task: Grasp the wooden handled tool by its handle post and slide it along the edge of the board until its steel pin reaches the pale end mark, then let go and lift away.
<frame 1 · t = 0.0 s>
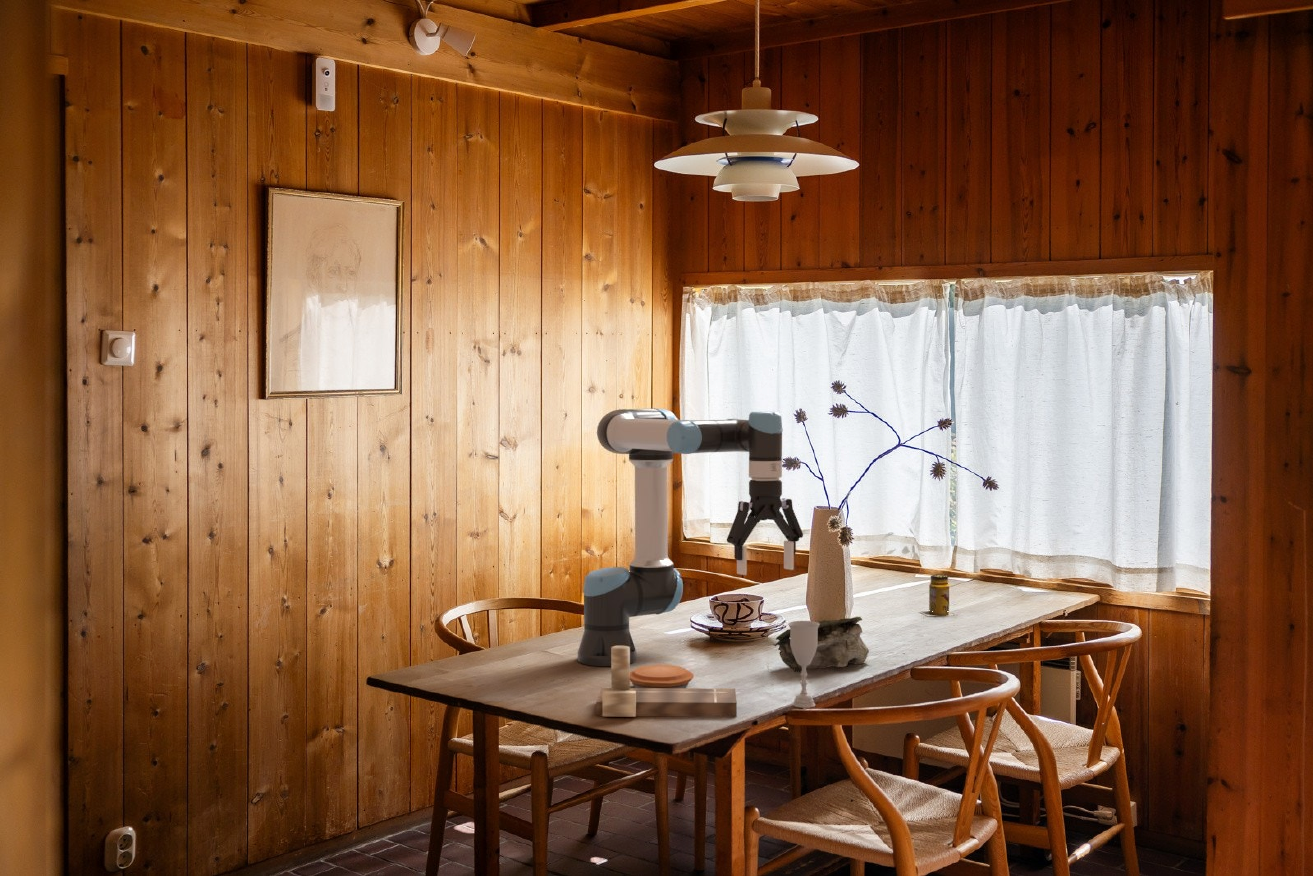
hand: (765, 571, 276), 28 cm above the table, fingers open, 13 cm apart
condiment: (936, 614, 373), on the table
pie: (660, 691, 281), on the table
chalice: (803, 705, 267), on the table
hollow geode rock: (820, 668, 303), on the table
wooden handled tool: (620, 678, 261), point 7 cm above the table, slide at -10.0 cm
board: (667, 708, 264), on the table
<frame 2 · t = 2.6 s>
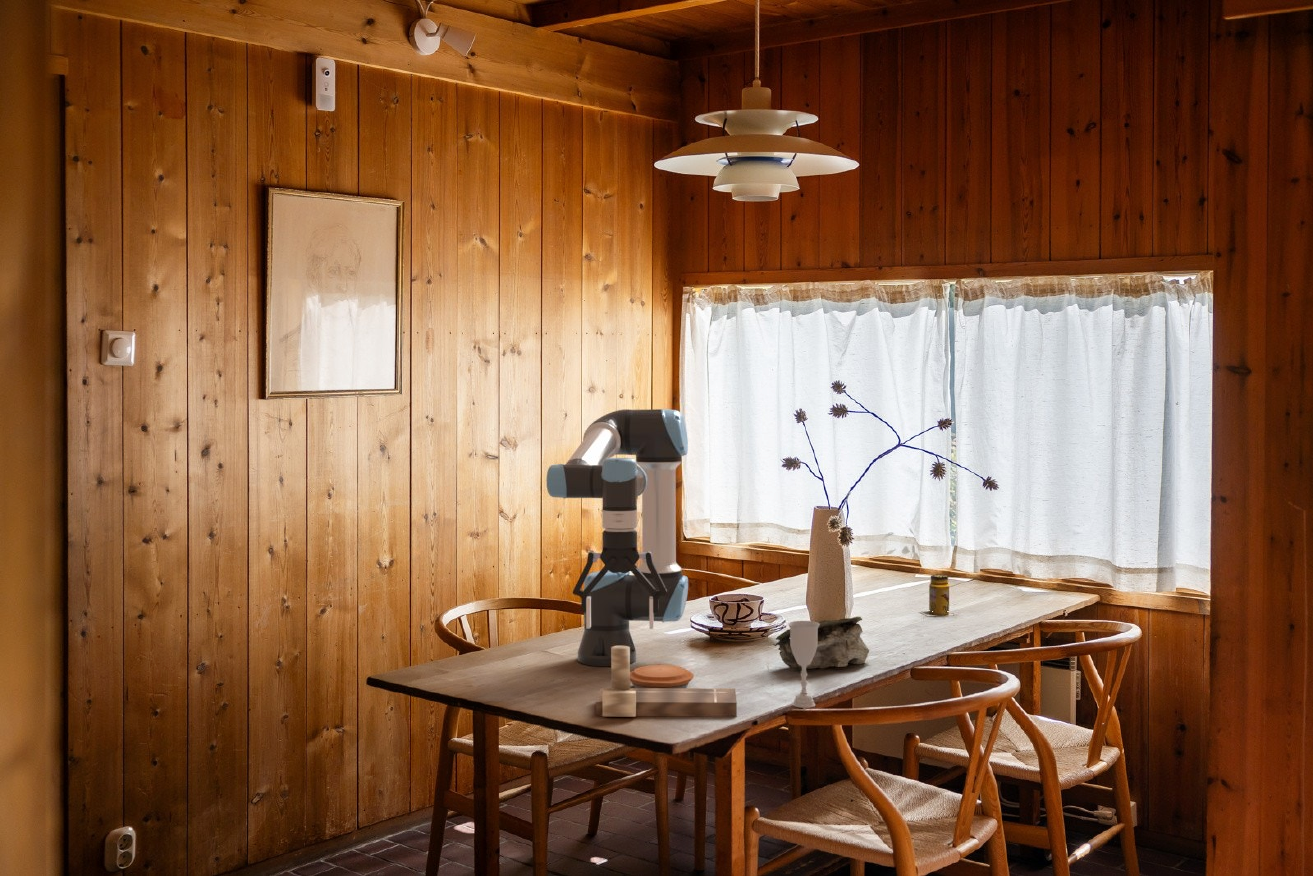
hand: (620, 627, 261), 18 cm above the table, fingers open, 13 cm apart
nothing on the table moved.
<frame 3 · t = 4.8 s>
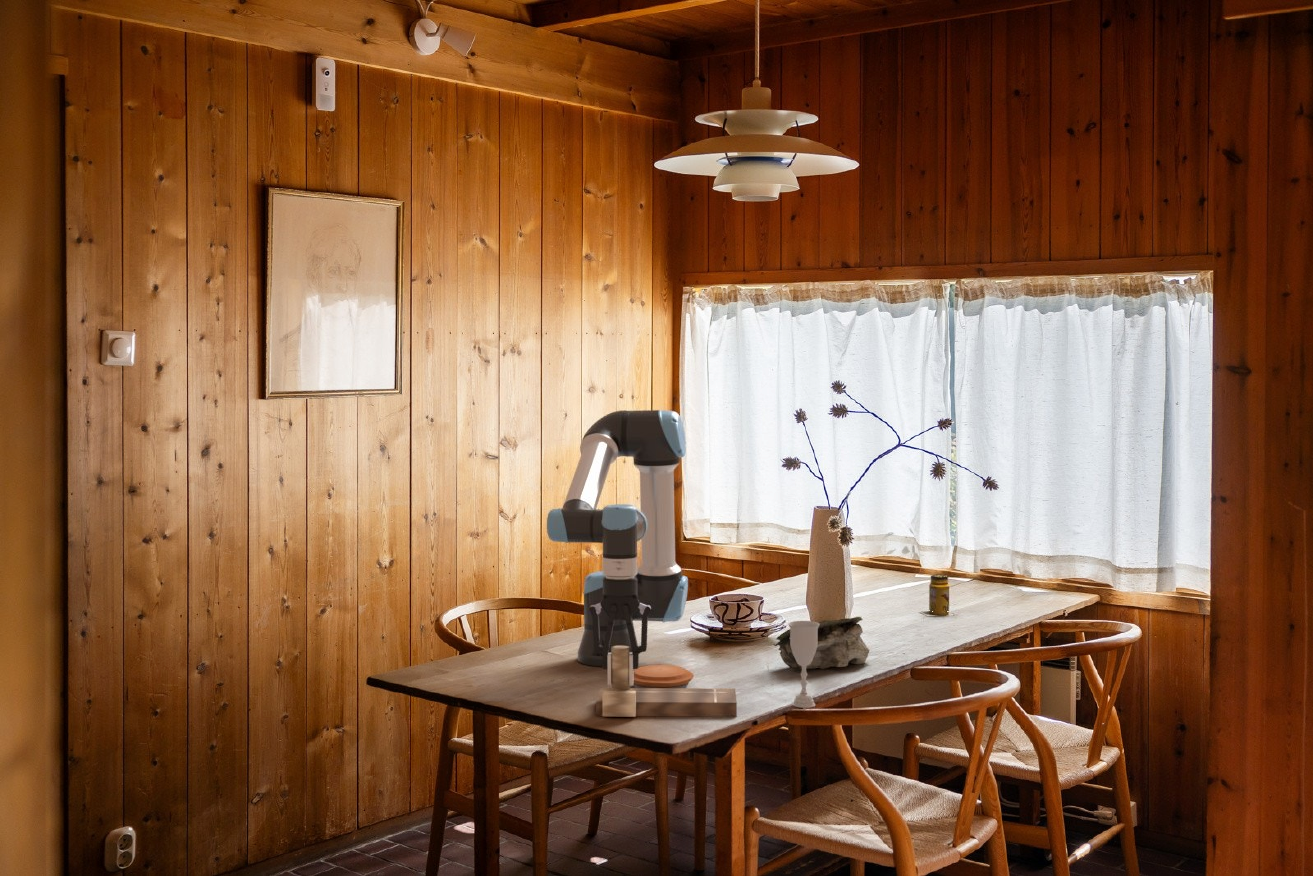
hand: (620, 683, 262), 6 cm above the table, fingers closed on wooden handled tool, 4 cm apart
wooden handled tool: (620, 678, 261), point 7 cm above the table, slide at -10.0 cm, touching gripper
everything else where it was.
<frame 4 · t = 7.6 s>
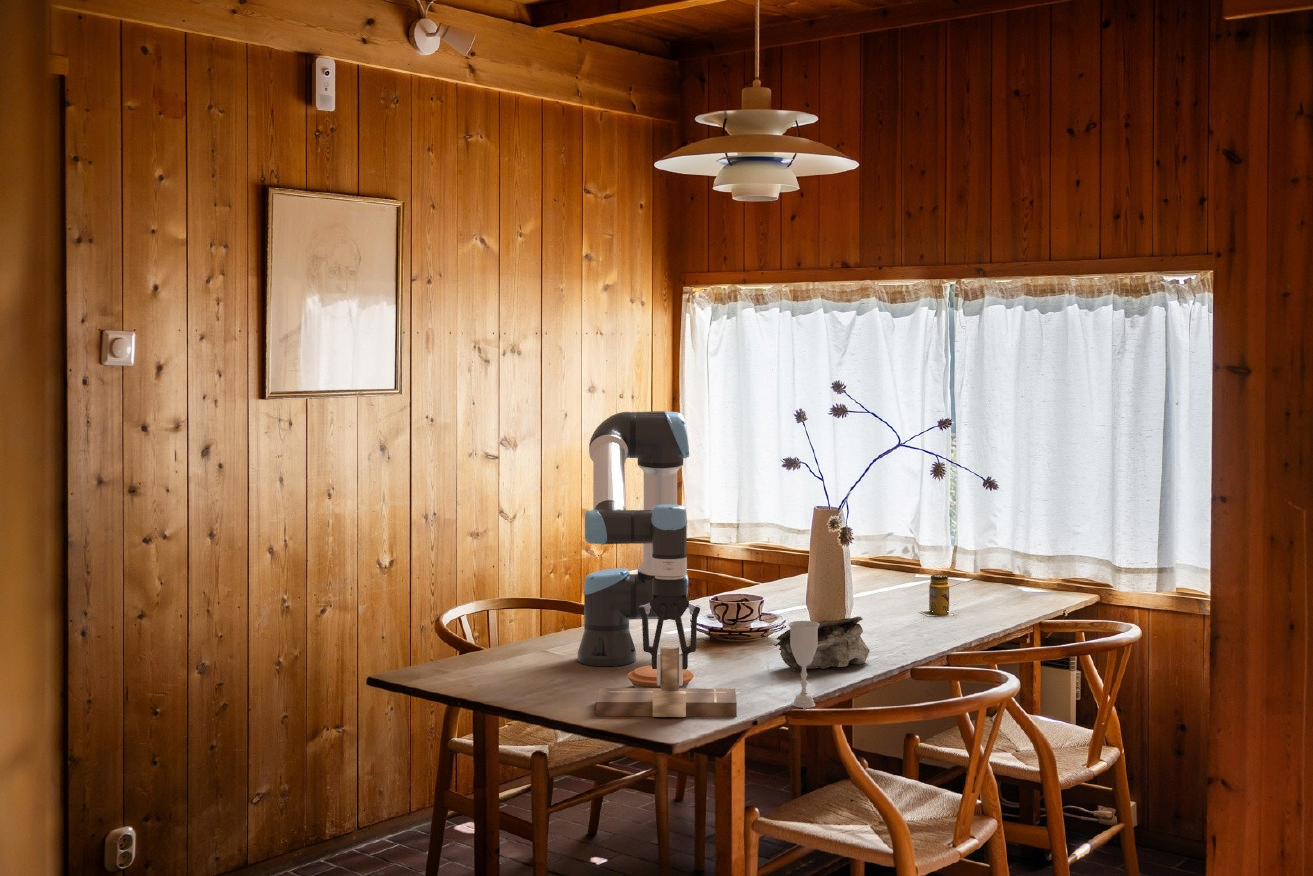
hand: (669, 683, 261), 6 cm above the table, fingers closed on wooden handled tool, 4 cm apart
wooden handled tool: (669, 678, 261), point 7 cm above the table, slide at 0.7 cm, touching gripper
everything else where it was.
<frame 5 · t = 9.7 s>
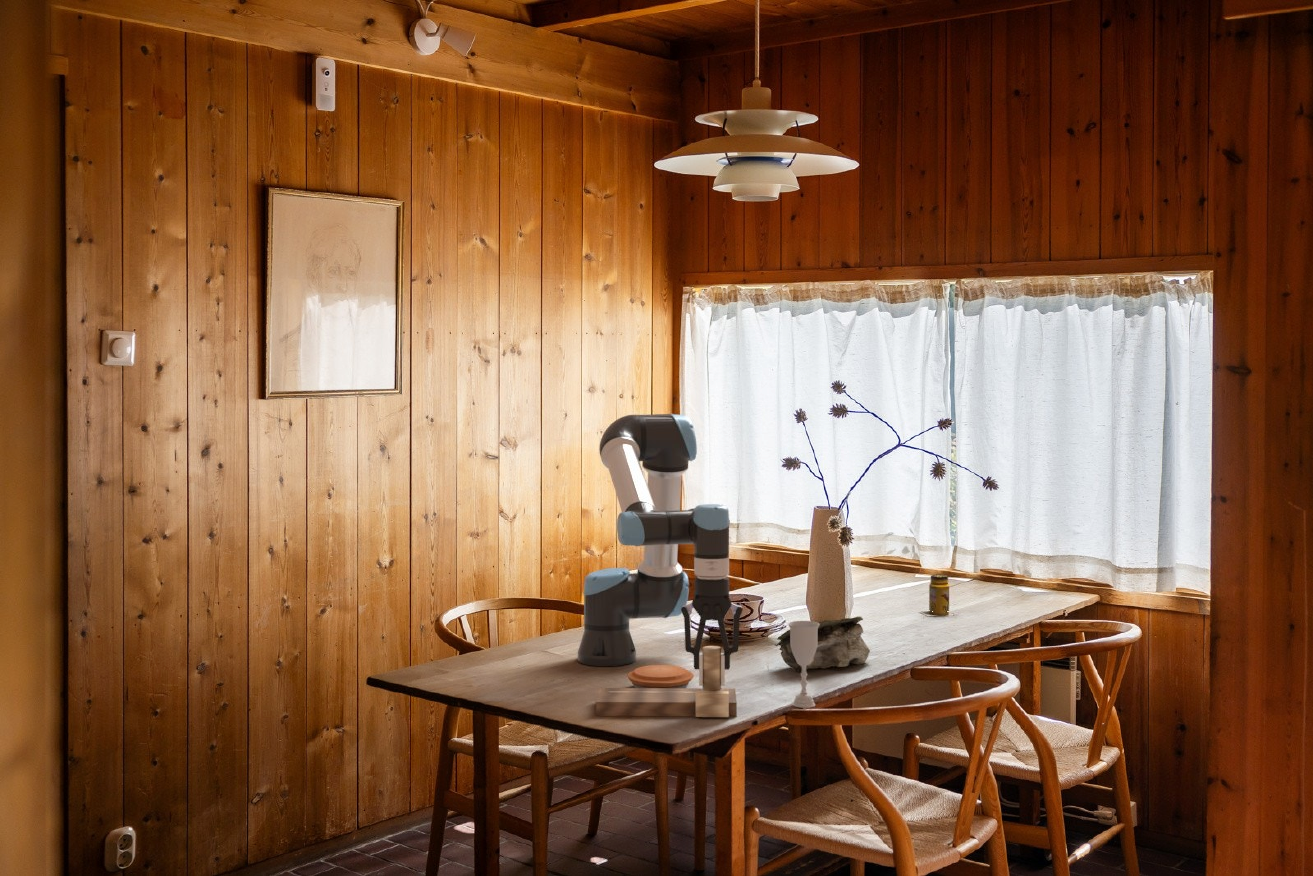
hand: (711, 684, 261), 6 cm above the table, fingers closed on wooden handled tool, 4 cm apart
wooden handled tool: (711, 679, 261), point 7 cm above the table, slide at 9.8 cm, touching gripper
everything else where it was.
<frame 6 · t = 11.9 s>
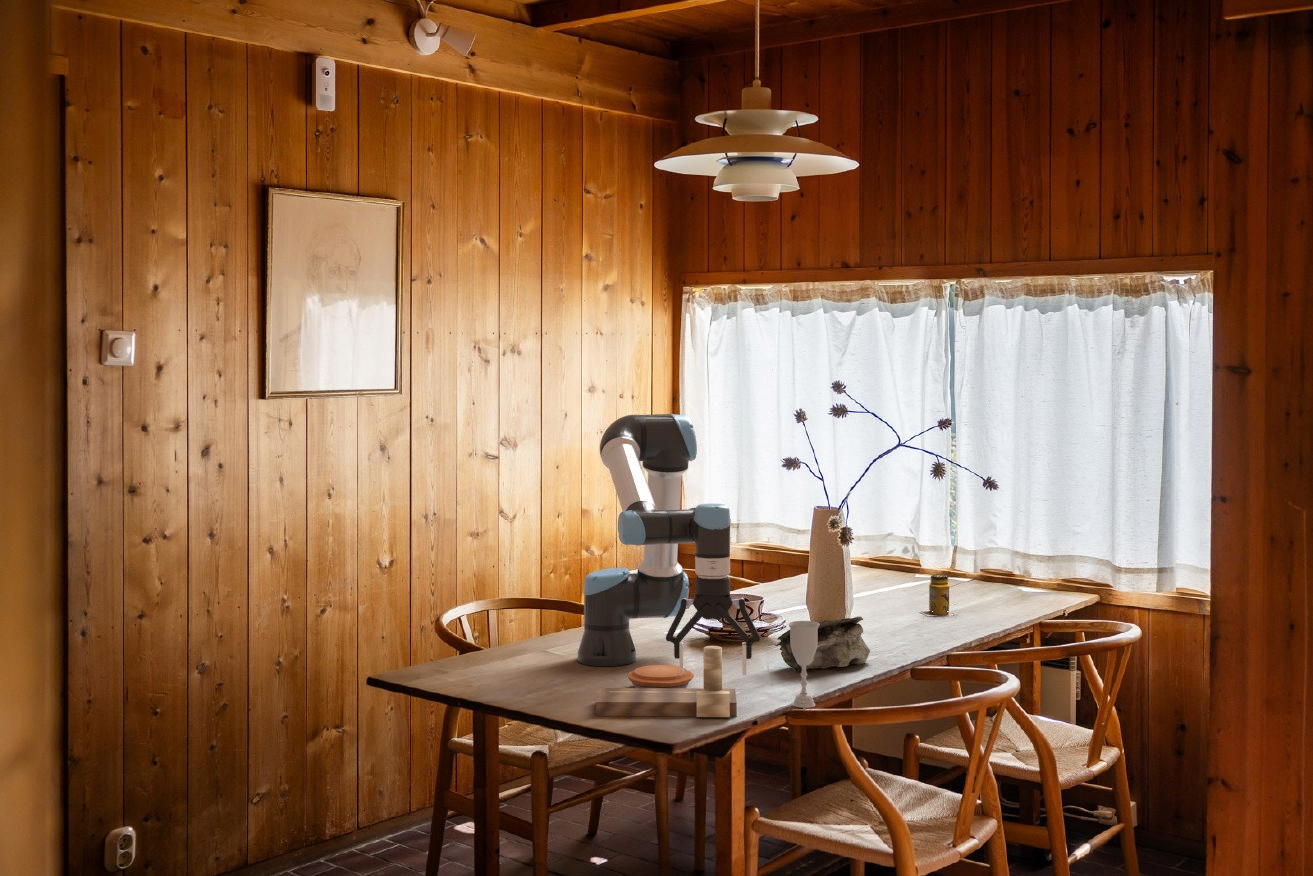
hand: (712, 673, 261), 8 cm above the table, fingers open, 13 cm apart
wooden handled tool: (712, 679, 261), point 7 cm above the table, slide at 10.0 cm
everything else where it was.
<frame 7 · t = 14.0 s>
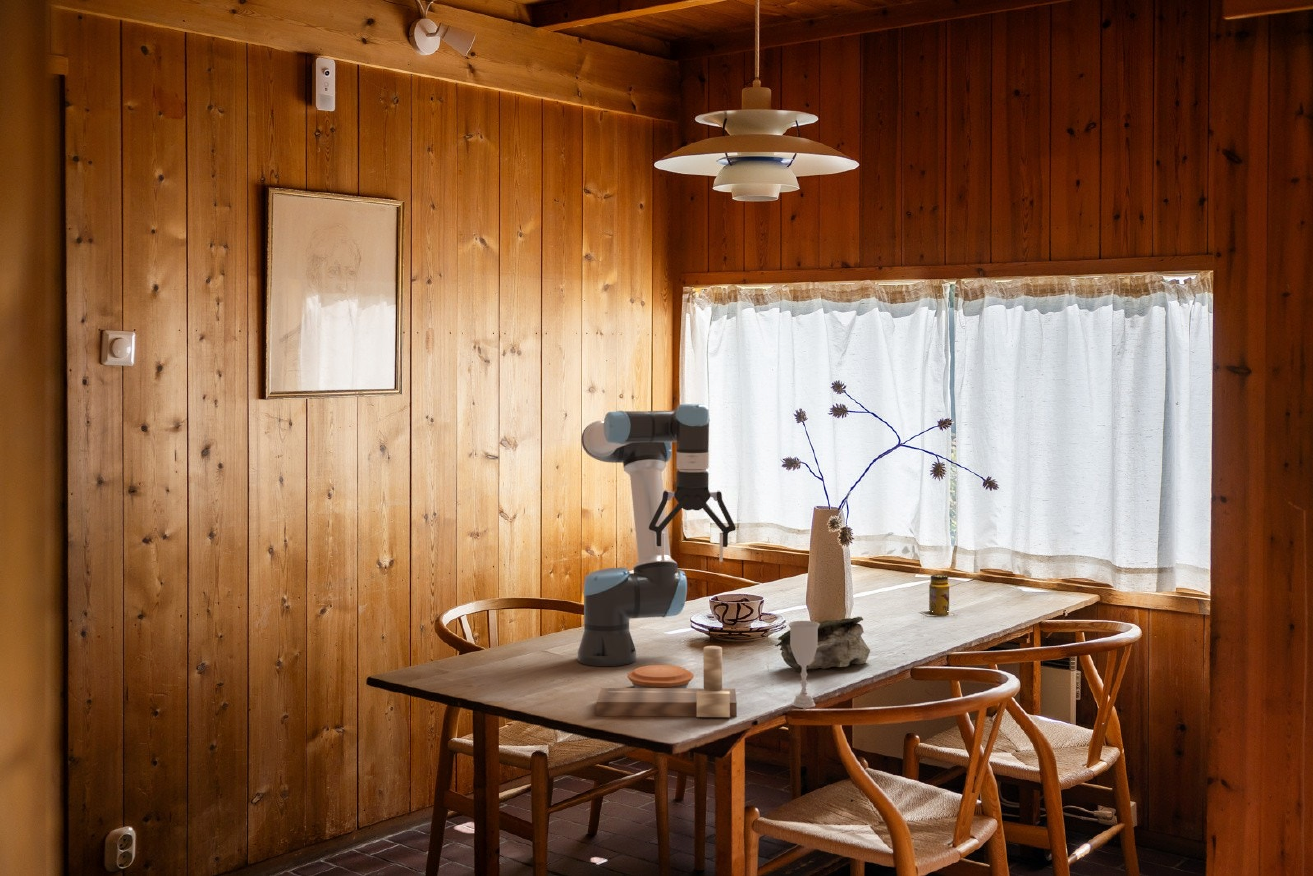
hand: (691, 560, 283), 30 cm above the table, fingers open, 13 cm apart
nothing on the table moved.
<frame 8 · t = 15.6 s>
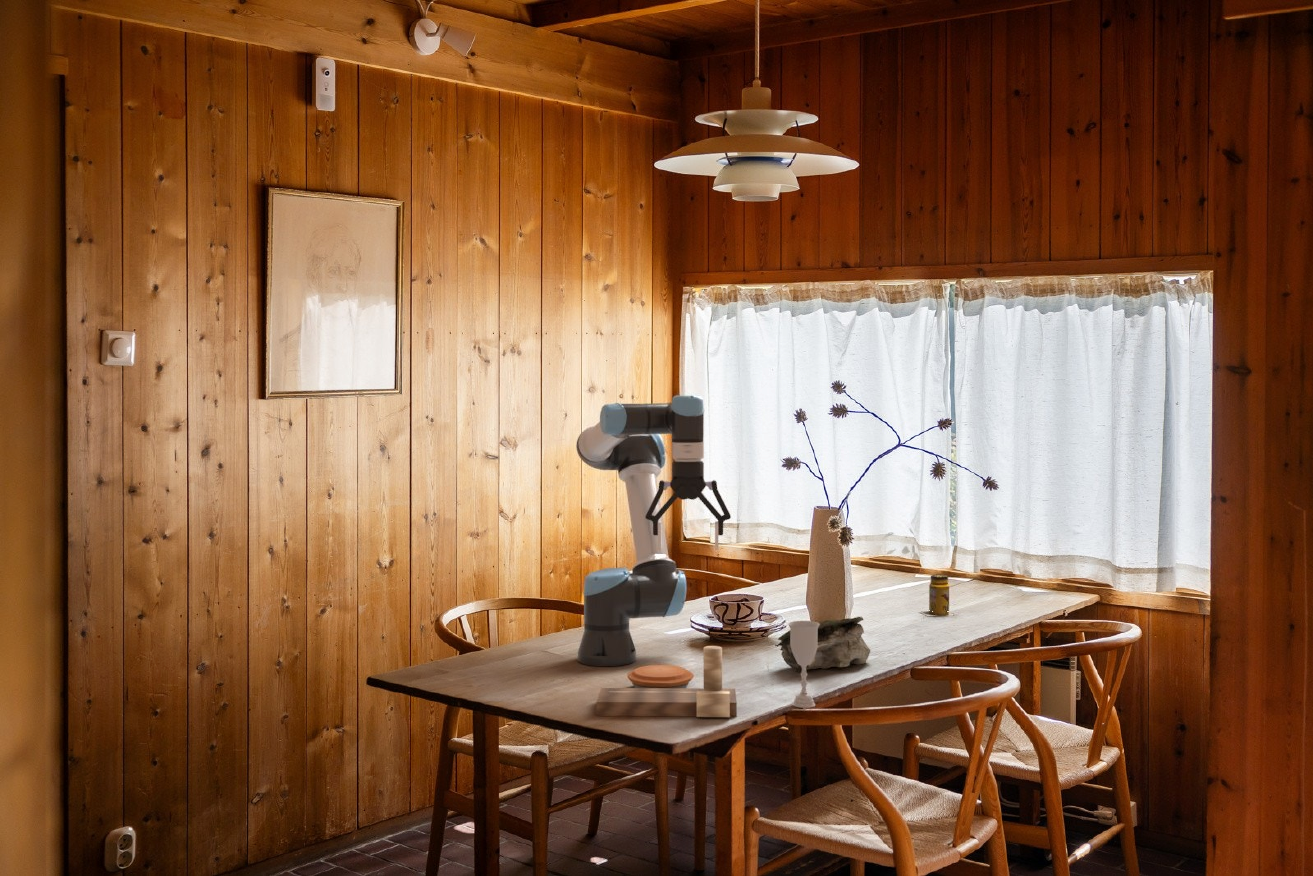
hand: (688, 549, 287), 32 cm above the table, fingers open, 13 cm apart
nothing on the table moved.
at the end: wooden handled tool slide at 10.0 cm; the gripper is holding nothing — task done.
